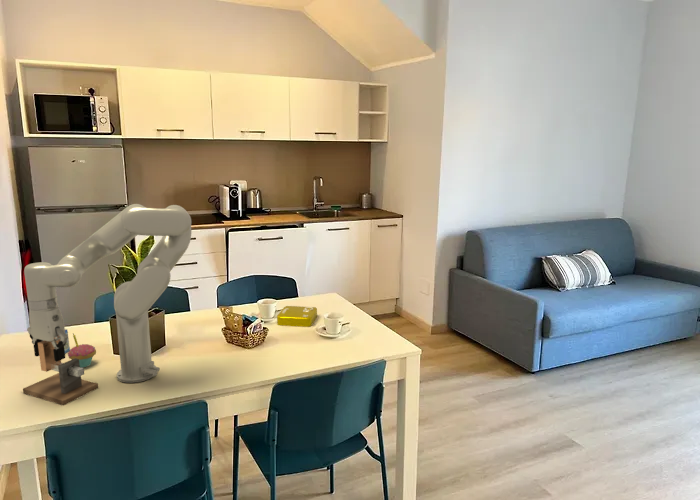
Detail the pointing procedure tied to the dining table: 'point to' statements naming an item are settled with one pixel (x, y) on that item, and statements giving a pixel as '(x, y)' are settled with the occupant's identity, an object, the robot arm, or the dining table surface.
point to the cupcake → (82, 353)
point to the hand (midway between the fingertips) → (50, 357)
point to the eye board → (55, 390)
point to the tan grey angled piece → (50, 363)
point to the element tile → (297, 316)
